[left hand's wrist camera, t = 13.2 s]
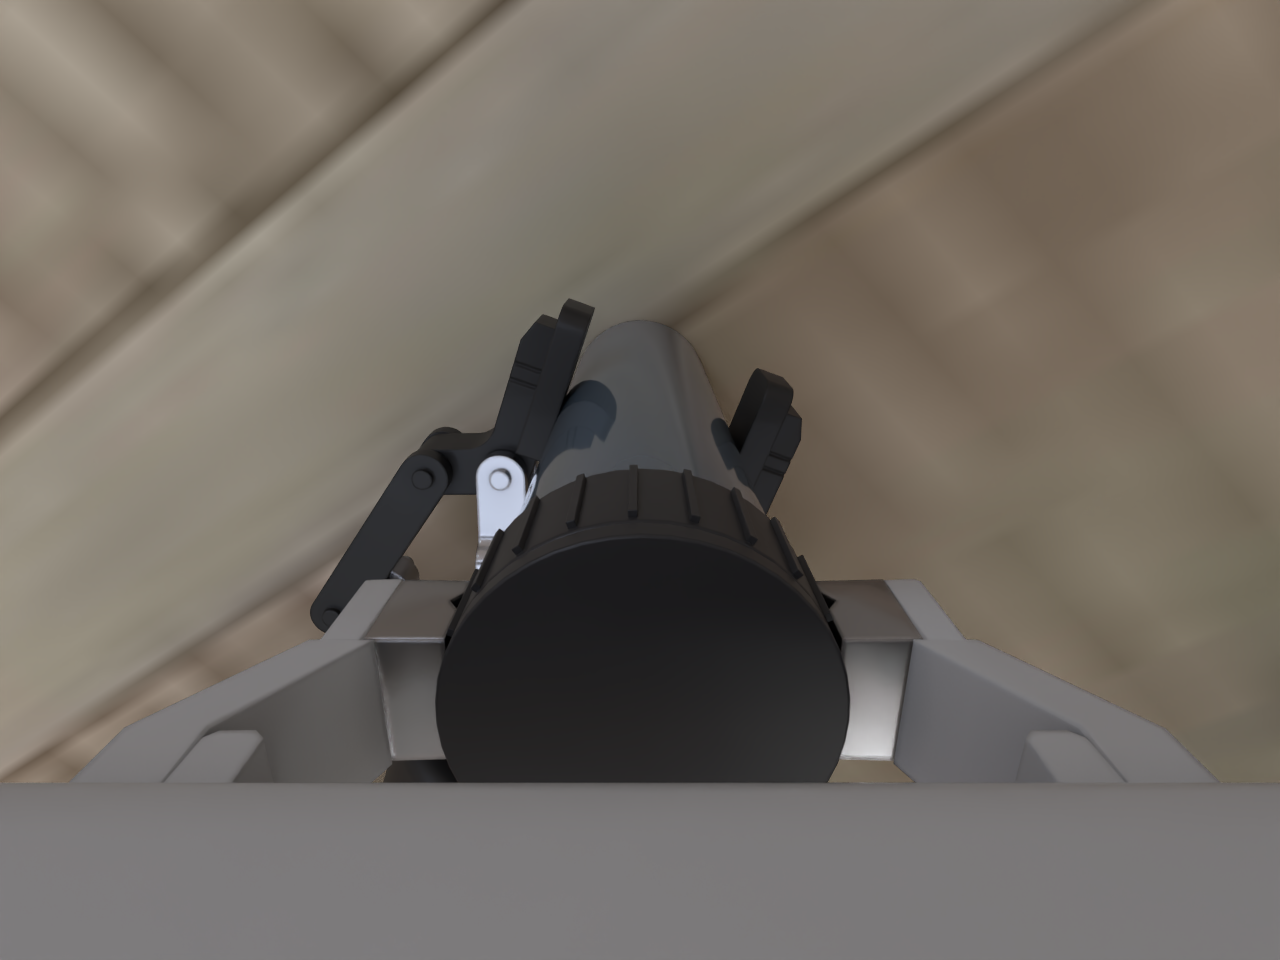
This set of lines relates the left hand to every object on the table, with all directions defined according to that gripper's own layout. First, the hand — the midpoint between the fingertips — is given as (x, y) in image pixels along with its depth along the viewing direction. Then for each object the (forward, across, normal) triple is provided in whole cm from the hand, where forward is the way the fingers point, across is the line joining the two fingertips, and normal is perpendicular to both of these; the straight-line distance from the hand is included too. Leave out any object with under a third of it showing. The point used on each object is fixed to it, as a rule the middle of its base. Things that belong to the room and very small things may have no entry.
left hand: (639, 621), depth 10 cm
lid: (-2, 0, 0) cm, 2 cm away
